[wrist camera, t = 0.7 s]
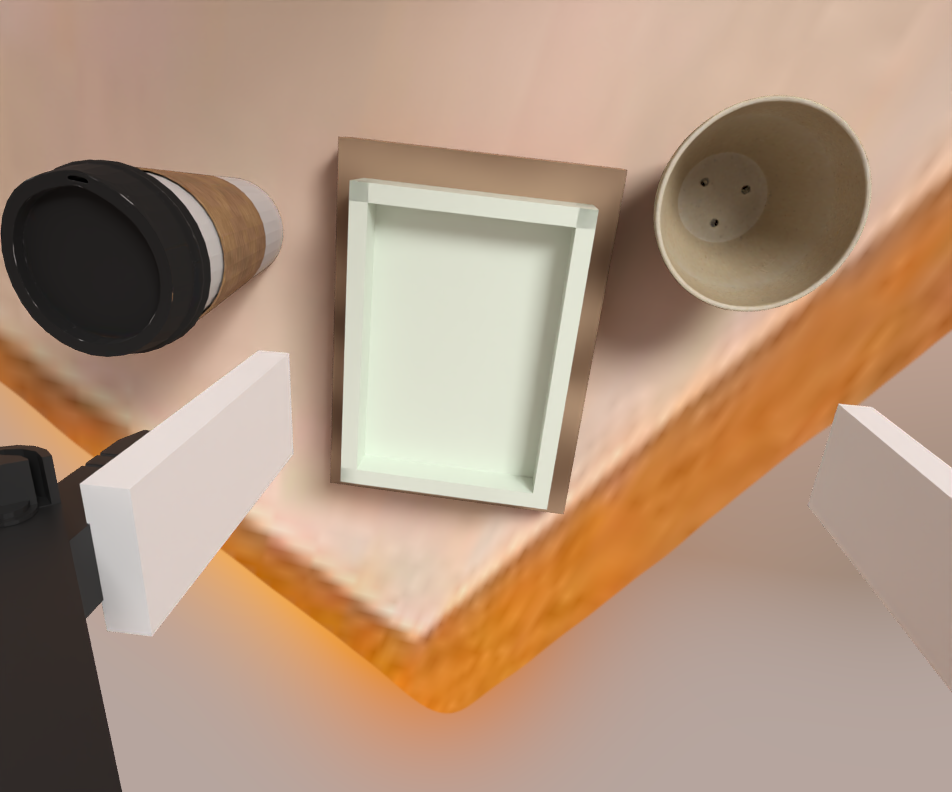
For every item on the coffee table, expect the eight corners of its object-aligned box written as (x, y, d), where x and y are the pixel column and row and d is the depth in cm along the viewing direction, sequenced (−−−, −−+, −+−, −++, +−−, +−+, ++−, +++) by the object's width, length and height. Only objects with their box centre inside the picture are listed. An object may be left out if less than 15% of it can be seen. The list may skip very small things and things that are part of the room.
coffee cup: (309, 171, 38) (183, 185, 24) (297, 305, 41) (179, 385, 28) (174, 141, 38) (-30, 139, 24) (171, 278, 42) (-10, 345, 28)
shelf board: (350, 137, 37) (338, 136, 35) (621, 168, 37) (627, 170, 35) (340, 465, 46) (330, 482, 43) (561, 495, 45) (563, 514, 43)
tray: (363, 177, 36) (349, 180, 33) (593, 204, 35) (598, 210, 33) (352, 459, 43) (340, 481, 40) (545, 485, 42) (546, 509, 39)
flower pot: (629, 285, 39) (649, 313, 33) (638, 108, 36) (662, 100, 29) (797, 281, 38) (852, 310, 32) (823, 100, 35) (892, 89, 28)
